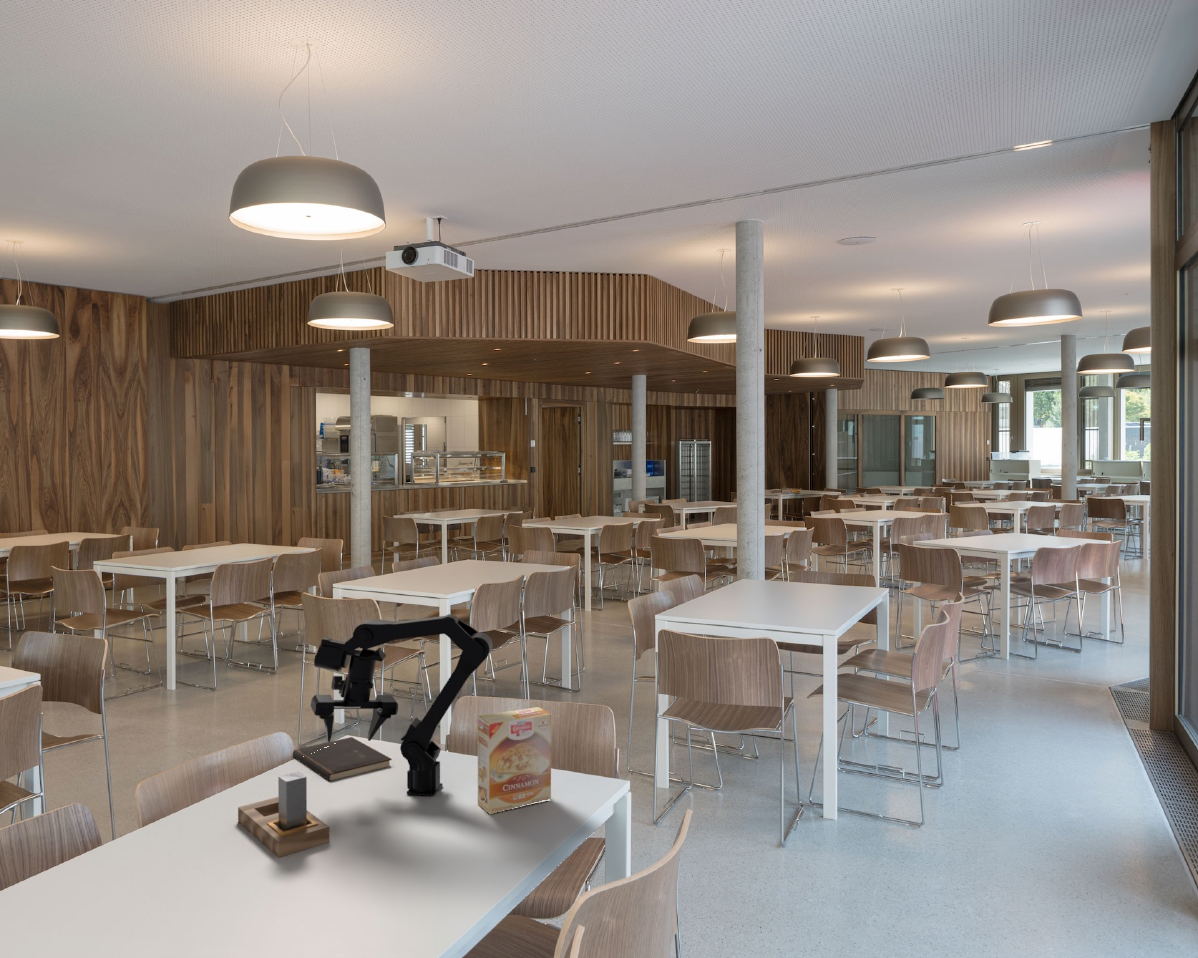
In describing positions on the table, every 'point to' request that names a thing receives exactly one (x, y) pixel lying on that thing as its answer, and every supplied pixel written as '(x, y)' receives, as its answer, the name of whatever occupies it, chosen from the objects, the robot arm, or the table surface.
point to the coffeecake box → (514, 759)
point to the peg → (292, 801)
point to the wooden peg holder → (266, 828)
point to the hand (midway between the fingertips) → (348, 740)
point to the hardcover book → (341, 758)
